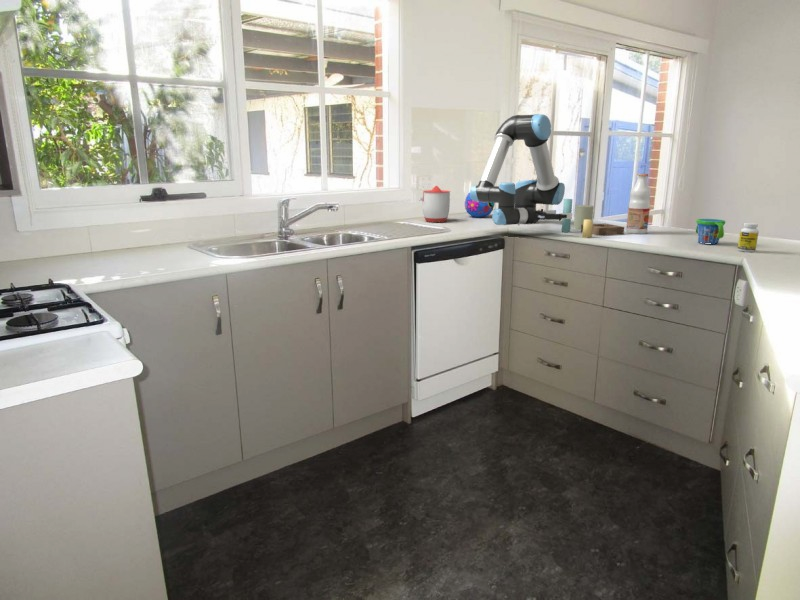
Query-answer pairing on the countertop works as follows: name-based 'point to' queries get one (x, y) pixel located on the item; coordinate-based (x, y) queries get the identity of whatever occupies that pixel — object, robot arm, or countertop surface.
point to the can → (582, 214)
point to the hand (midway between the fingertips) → (563, 214)
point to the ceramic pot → (478, 207)
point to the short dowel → (587, 228)
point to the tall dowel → (566, 209)
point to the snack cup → (710, 230)
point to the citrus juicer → (436, 204)
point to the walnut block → (605, 229)
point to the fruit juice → (639, 206)
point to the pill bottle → (748, 237)
